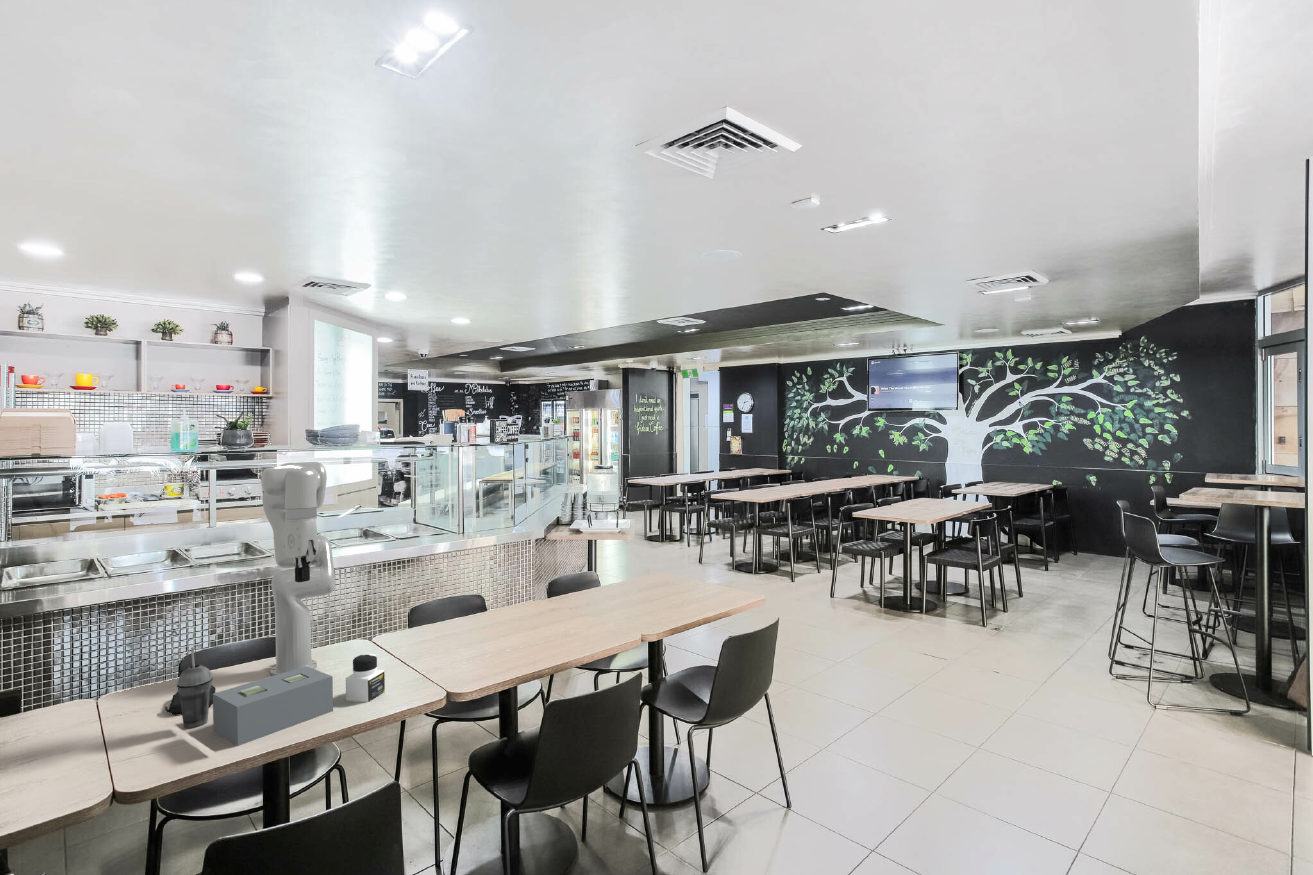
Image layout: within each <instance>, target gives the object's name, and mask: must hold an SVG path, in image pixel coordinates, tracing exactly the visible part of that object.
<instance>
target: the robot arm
mask: <svg viewBox="0 0 1313 875" xmlns="http://www.w3.org/2000/svg"><path fill="white" fill-rule="evenodd" d="M327 480H328V478H327V471H326V467H325V466H324V465H323V464H322V463H321V462H318V461H305V462H304V461H302V462H301V461H300V462H287V463H283V464H280V465H278V466H273V467H272V466H271V467H266V468H265V469H264V470H263V472H262V474H261V479H260V484H261V485H260V486H261V489H262V491H263V494H262V499H261V500H262V501H261V502H262V507H263V512H264V515H265V516H266V519H267V521H268V522H269V524H270V527H271V528H272V534H273V545H274V546H273V548H274V559H275V562H276V563H275V564H276V565H277V566H278V567H279V568H281V569H283V570H280V571H278V572H276V573H274V575H273V576H272V579H271V582H270V583H271V584H270V586H271V592H272V597H273V603H274V618H275V662H276V663H275V664H276V665H274V666H273V667H272V668H271V669H270V675H271V676H274V675H277V674H281V673H284V672H287V671H291V670H294V669H298V668H301V667H304V666H307V667H310V668H312V669H315V670H316V668H317V667H318V662H317V661H316V660H315V659H312V632H311V631H312V630H311V629H312V624H311V620H312V619H311V611H310V608H309V607H308V606H307V605H306V604H305V603H304V602H303V601H301V600H303V599H308V598H315V597H321V596H326V595H327V596H328V595H329V594H332V593H333V592H334V590H335V588H336V587H335V586H336V574H335V567H334V566H335V565H334V560H333V559H334V556H333V550H332V544H331V542H330V540H329V538H327V537H326V536H324V535H318V528H317V520H316V519H318V509H319V508H321V507H323V504H324V501H325V495H326V494H325V493H326V486H327Z"/></svg>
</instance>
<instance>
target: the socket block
mask: <svg viewBox="0 0 1313 875" xmlns="http://www.w3.org/2000/svg"><path fill="white" fill-rule="evenodd" d="M299 674H300V675H302V676H305V677H307V678H306V679H303V680H299V681H296V682H293V683H287V682H285V681H283V679H286V678H289V677H292V676H296V675H299ZM333 680H334V679H333V676H332V675H330V674H328V673H325V672H323V671H320V670H317V669H316V668H315V669H312V668H310V667H307V666H304V667H301V668H298V669H294V670H291V671H287V672H284V673H281V674H277V675H274V676H272V675H271V676H268V677H264V678H261V679H258V680H254V681H250V682H247V683H245V684H244V683H243V684H242V685H241V684H240V685H237V686H234V687H231V688H227V689H224V690H221V691H217V692H215V693H214V694H213V704H212V718H213V719H212V724H213V726H212V727H213V728H212V730H213V732H215V733H216V734H218V735H219V736H221V737H223V738H224V739H226V740H228V741H229V742H230V743H232V744H233V745H236V746H237V747H240V746H242V745H245V744H247V743H251V742H253V741H256V740H258V739H261V738H263V737H267V736H269V735H271V734H275V733H278V732H280V731H282V730H286V729H288V728H291V727H293V726H297V725H299V724H302V723H304V722H307V721H311V720H313V719H315V718H318V717H321V716H323V715H326V714H328V713H331V712H334V694H333V693H334V690H333V689H334V688H333V687H334V686H333V684H334V683H333V682H334V681H333ZM255 686H260V687H262V688H264V689H265V691H264V692H261V693H258V694H255V695H252V696H248V697H244V696H242V695H240V691H242V690H245V689H248V688H252V687H255Z"/></svg>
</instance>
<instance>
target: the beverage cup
mask: <svg viewBox="0 0 1313 875" xmlns="http://www.w3.org/2000/svg"><path fill="white" fill-rule="evenodd" d="M194 650H195V649H194V646H193V647H191V648H190V651H191V653H190V654H191V666H189V667H186V668H185V669H184V670H183V671H182V672H181V673H180V675H179V677H178V678H177V684H176V688H177V692H179V694H180V701H181V709H182V714H181V715H182V723H183V728H184V729H187V730H188V729H196V728H200V727H202V726H204V725H206V724H207V723H208V720H209V710H210V708H209V699H210V688H211V685H212V684H213V680H214V679H213V674H212V672H211V670H210V669H209V668H208V667H207V666H205V665H202V664H195V651H194Z"/></svg>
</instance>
